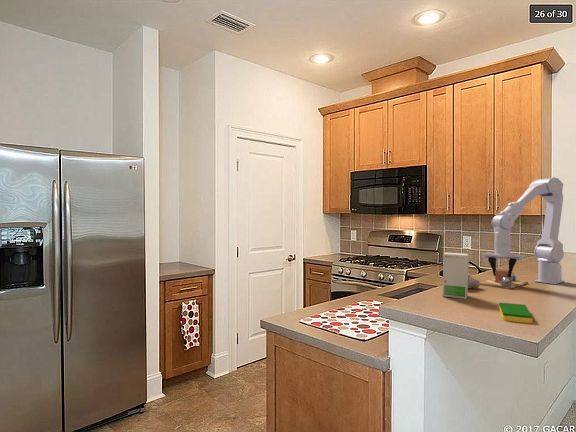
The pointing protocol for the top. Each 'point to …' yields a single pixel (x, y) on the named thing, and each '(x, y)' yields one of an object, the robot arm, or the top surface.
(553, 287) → the top surface
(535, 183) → the robot arm
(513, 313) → the dish sponge
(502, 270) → the reddish brown block
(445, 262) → the skincare box
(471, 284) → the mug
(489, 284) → the base board
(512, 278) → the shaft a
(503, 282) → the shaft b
